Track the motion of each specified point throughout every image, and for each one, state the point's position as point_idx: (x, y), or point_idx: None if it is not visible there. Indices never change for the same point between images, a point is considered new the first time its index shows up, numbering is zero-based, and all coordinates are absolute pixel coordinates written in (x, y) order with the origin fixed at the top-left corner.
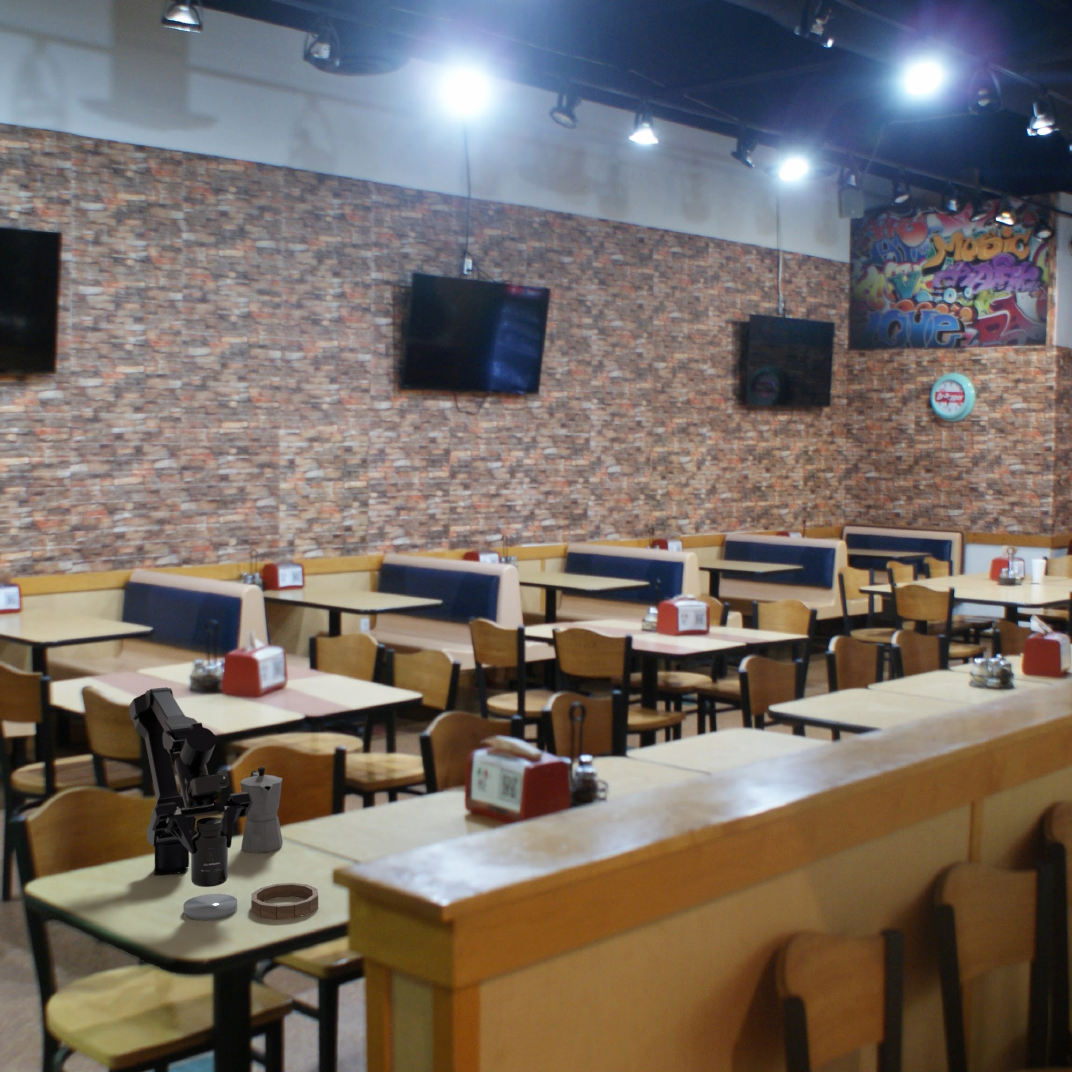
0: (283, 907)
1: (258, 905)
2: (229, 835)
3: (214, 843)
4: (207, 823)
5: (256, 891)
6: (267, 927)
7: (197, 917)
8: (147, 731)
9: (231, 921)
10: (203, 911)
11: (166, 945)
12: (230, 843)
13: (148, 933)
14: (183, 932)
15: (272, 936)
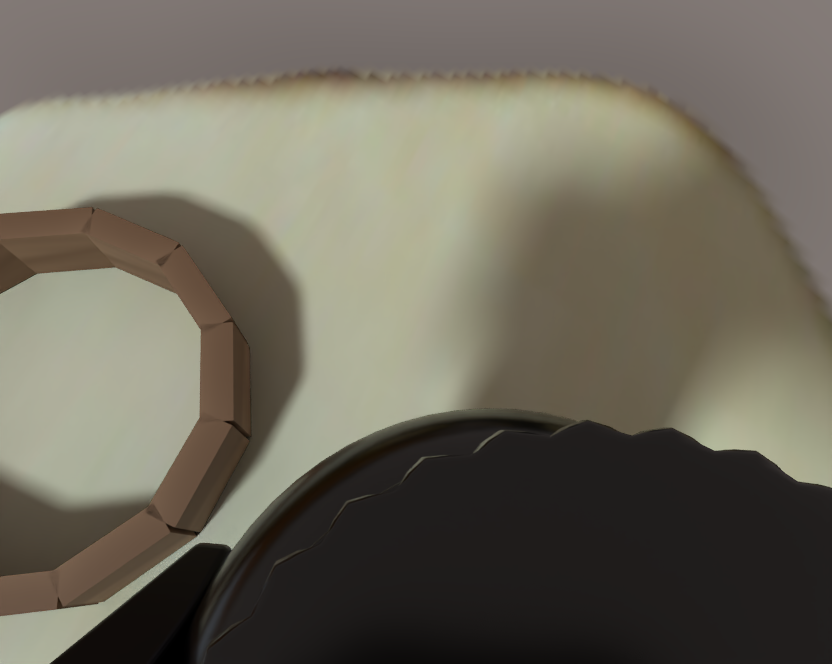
0: (150, 233)
1: (235, 346)
2: (126, 645)
3: (522, 410)
4: (823, 570)
5: (123, 553)
6: (287, 220)
7: None
8: None
9: (394, 386)
10: None
11: (754, 289)
12: (198, 551)
13: (817, 483)
14: (651, 390)
15: (321, 127)
